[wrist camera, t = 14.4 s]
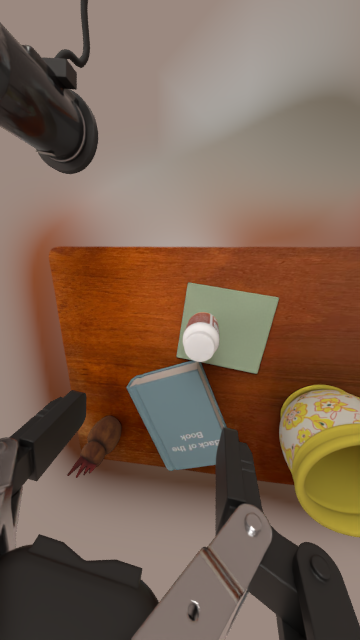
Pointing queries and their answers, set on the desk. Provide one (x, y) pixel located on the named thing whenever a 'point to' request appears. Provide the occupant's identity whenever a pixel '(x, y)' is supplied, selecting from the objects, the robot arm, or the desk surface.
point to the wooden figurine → (98, 444)
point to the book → (179, 414)
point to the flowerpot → (324, 454)
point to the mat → (232, 324)
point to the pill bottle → (201, 337)
